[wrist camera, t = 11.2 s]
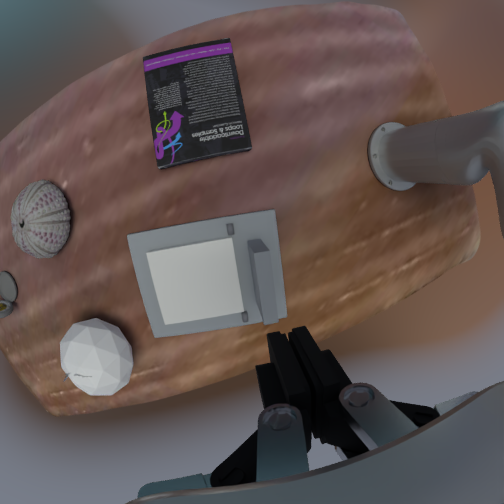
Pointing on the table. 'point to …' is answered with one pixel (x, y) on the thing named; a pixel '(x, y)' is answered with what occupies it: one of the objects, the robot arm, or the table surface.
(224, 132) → the box
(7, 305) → the pocket watch
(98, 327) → the geodesic sphere
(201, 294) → the tile
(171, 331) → the board
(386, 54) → the table surface
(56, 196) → the sea urchin shell
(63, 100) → the table surface
